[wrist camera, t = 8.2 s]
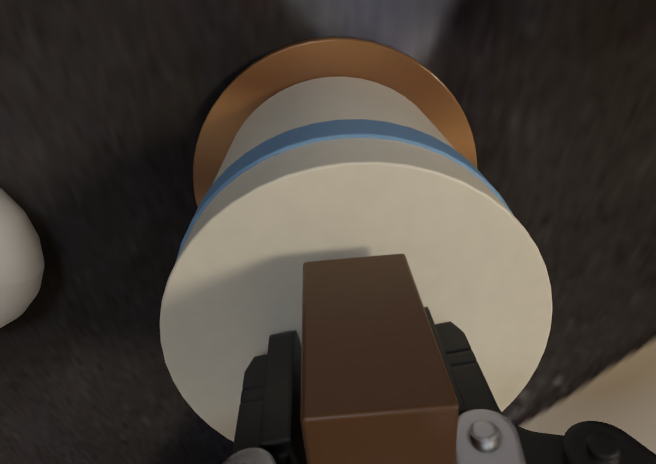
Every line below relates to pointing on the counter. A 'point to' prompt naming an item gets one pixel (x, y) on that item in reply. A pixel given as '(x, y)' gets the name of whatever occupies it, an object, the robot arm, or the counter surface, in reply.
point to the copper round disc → (321, 62)
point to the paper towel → (353, 275)
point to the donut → (17, 260)
